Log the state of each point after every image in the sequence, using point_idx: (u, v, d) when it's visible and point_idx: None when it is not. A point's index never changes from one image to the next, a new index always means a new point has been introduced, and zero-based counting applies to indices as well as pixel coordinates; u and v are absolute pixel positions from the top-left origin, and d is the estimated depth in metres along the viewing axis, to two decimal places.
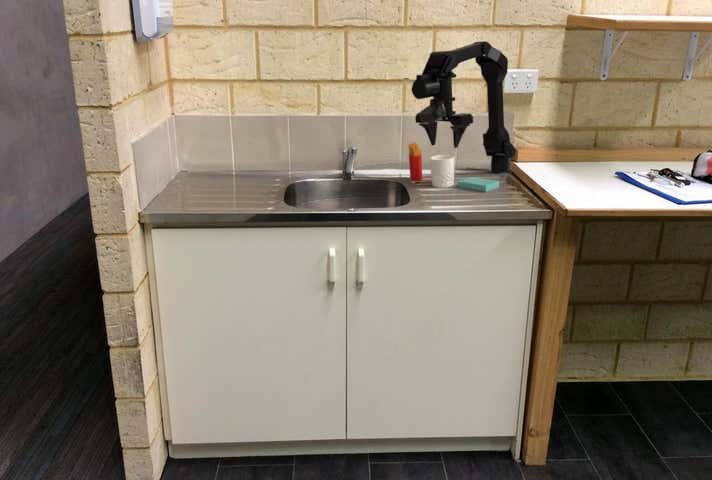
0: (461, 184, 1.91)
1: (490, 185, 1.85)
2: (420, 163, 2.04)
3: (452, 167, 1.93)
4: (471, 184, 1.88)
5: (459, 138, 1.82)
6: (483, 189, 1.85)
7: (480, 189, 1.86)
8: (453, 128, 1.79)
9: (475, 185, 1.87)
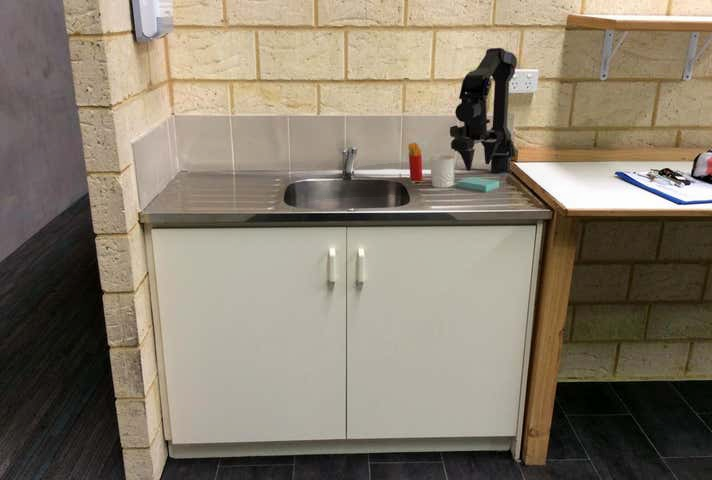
0: (461, 184, 1.91)
1: (490, 185, 1.85)
2: (420, 163, 2.04)
3: (452, 167, 1.93)
4: (471, 184, 1.88)
5: (467, 162, 1.84)
6: (483, 189, 1.85)
7: (480, 189, 1.86)
8: None
9: (475, 185, 1.87)
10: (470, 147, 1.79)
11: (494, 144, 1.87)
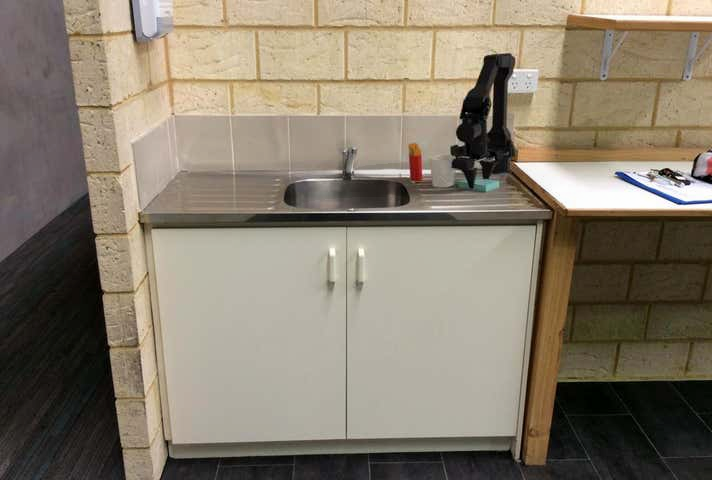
0: (461, 184, 1.91)
1: (490, 185, 1.85)
2: (420, 163, 2.04)
3: None
4: None
5: (470, 180, 1.86)
6: (483, 189, 1.85)
7: (480, 189, 1.86)
8: None
9: (475, 185, 1.87)
10: (470, 167, 1.81)
11: (492, 164, 1.89)
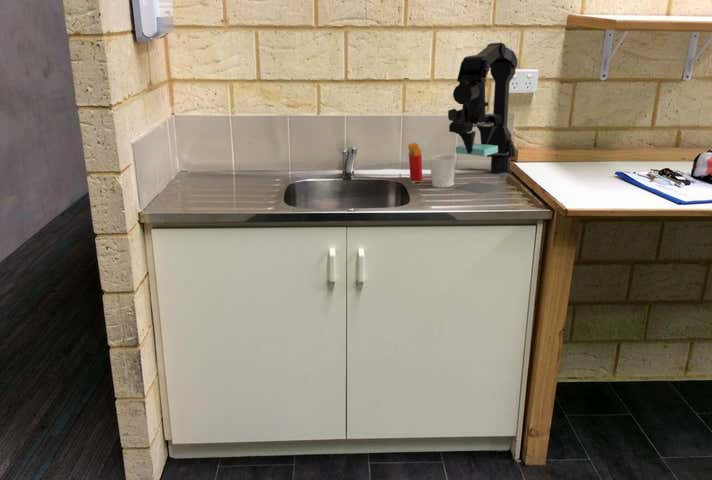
0: (459, 150, 1.88)
1: (489, 149, 1.82)
2: (420, 163, 2.04)
3: (452, 167, 1.93)
4: None
5: (468, 144, 1.83)
6: (481, 153, 1.81)
7: (478, 153, 1.82)
8: None
9: (473, 150, 1.83)
10: (468, 130, 1.78)
11: (490, 128, 1.85)
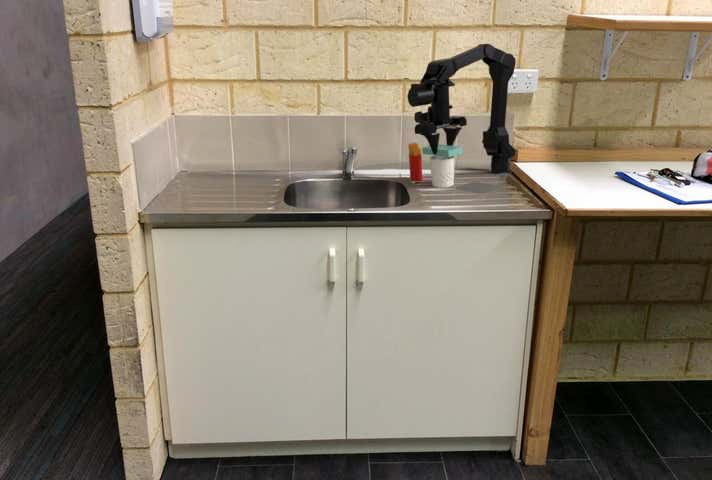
0: (426, 151, 1.95)
1: (453, 150, 1.89)
2: (420, 163, 2.04)
3: (452, 167, 1.93)
4: None
5: (433, 146, 1.90)
6: (446, 154, 1.88)
7: (443, 154, 1.89)
8: None
9: (438, 151, 1.90)
10: (432, 132, 1.85)
11: (455, 130, 1.92)
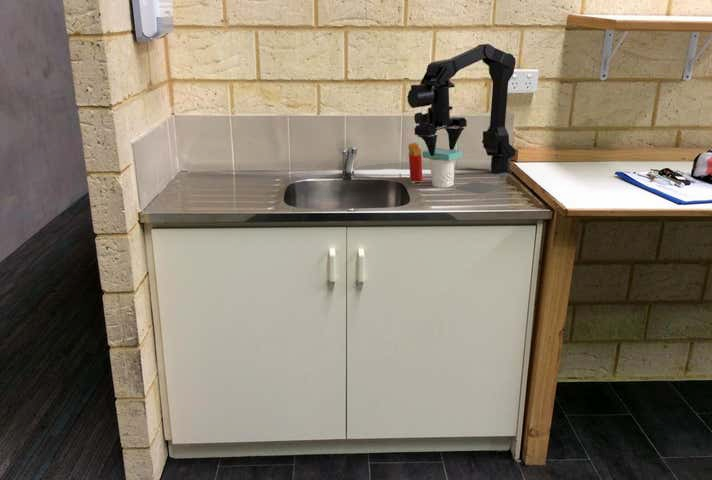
0: (426, 155, 1.95)
1: (453, 154, 1.89)
2: (420, 163, 2.04)
3: (452, 167, 1.93)
4: (435, 154, 1.92)
5: (431, 147, 1.89)
6: (446, 158, 1.89)
7: (443, 158, 1.90)
8: None
9: (438, 155, 1.91)
10: (432, 133, 1.85)
11: (457, 131, 1.93)
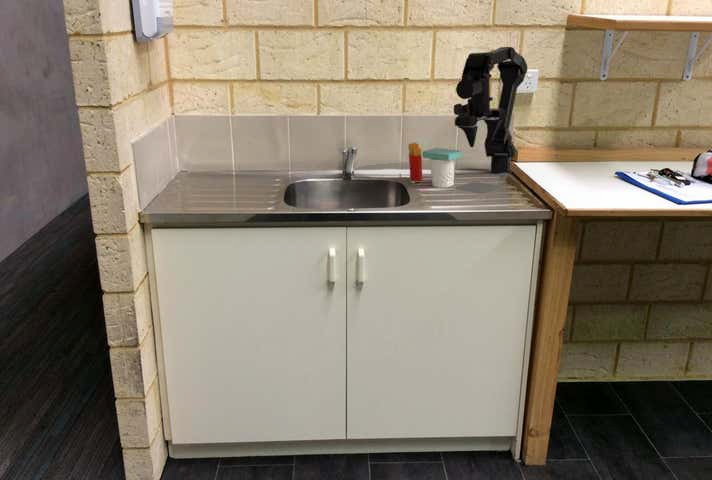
0: (426, 155, 1.95)
1: (453, 154, 1.89)
2: (420, 163, 2.04)
3: (452, 167, 1.93)
4: (435, 154, 1.92)
5: (471, 139, 1.89)
6: (446, 158, 1.89)
7: (443, 158, 1.90)
8: None
9: (438, 155, 1.91)
10: (473, 124, 1.84)
11: (497, 122, 1.93)
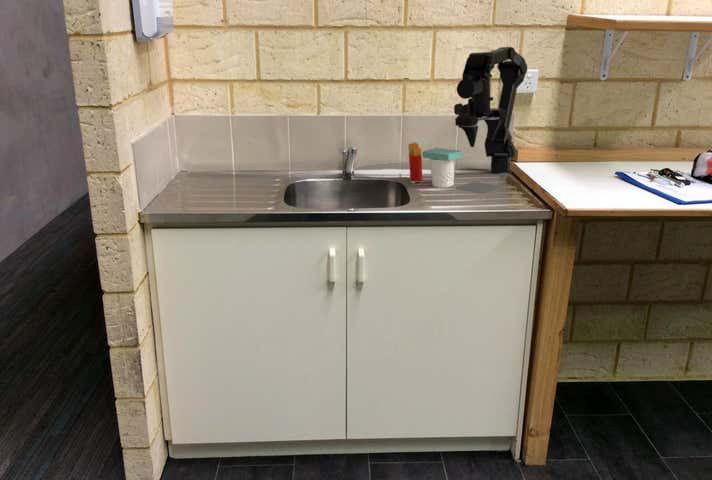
0: (426, 155, 1.95)
1: (453, 154, 1.89)
2: (420, 163, 2.04)
3: (452, 167, 1.93)
4: (435, 154, 1.92)
5: (471, 138, 1.89)
6: (446, 158, 1.89)
7: (443, 158, 1.90)
8: None
9: (438, 155, 1.91)
10: (474, 123, 1.84)
11: (497, 122, 1.93)
